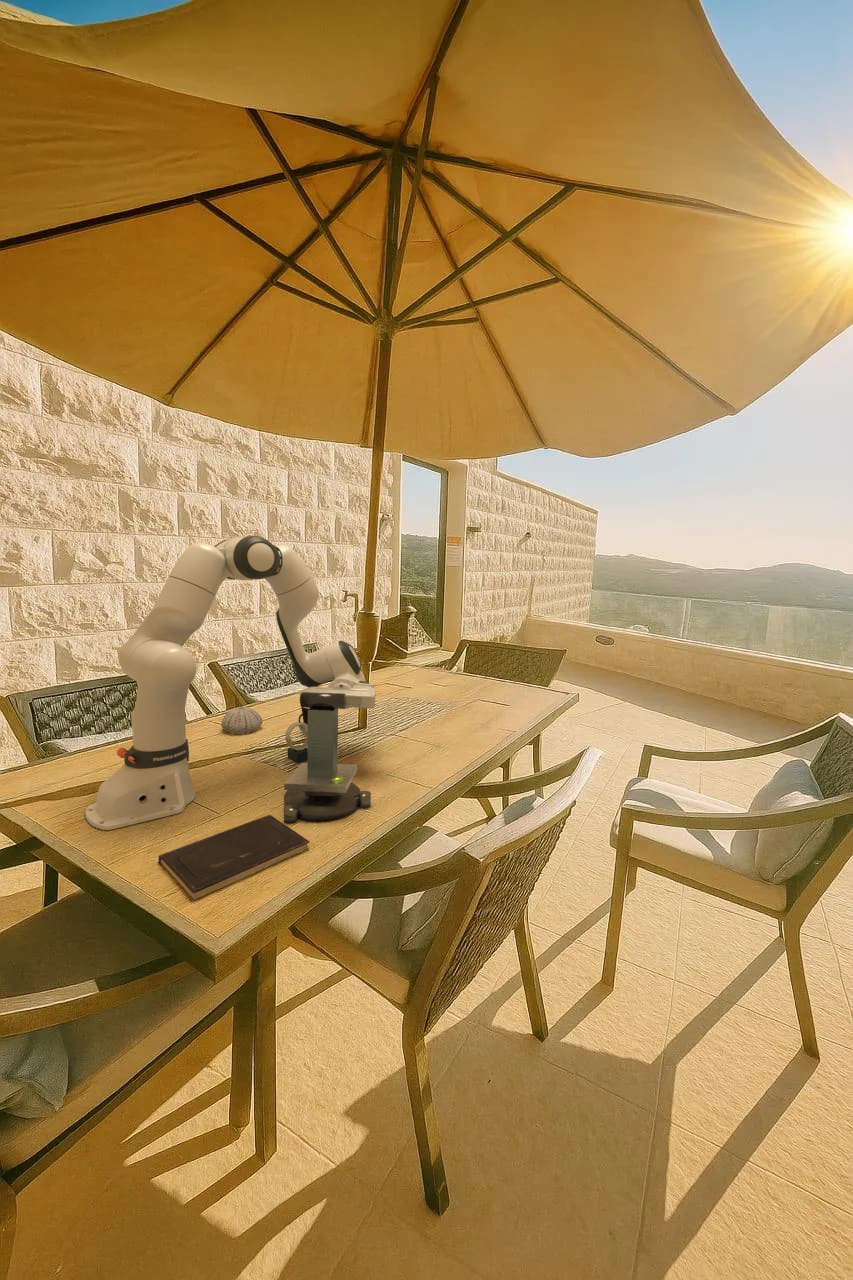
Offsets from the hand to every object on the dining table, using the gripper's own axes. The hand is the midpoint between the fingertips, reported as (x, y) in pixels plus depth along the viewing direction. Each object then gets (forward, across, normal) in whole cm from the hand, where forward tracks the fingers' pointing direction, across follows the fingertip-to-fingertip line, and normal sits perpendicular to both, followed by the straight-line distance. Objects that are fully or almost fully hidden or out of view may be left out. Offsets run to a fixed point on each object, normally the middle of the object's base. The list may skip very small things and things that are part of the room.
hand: (332, 704), depth 129 cm
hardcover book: (+33, -11, +23) cm, 42 cm away
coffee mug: (-39, -16, +22) cm, 47 cm away
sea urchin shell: (-41, -40, +22) cm, 62 cm away
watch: (-17, -13, +22) cm, 31 cm away
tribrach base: (+10, +2, +22) cm, 24 cm away
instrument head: (+10, 0, +16) cm, 19 cm away
